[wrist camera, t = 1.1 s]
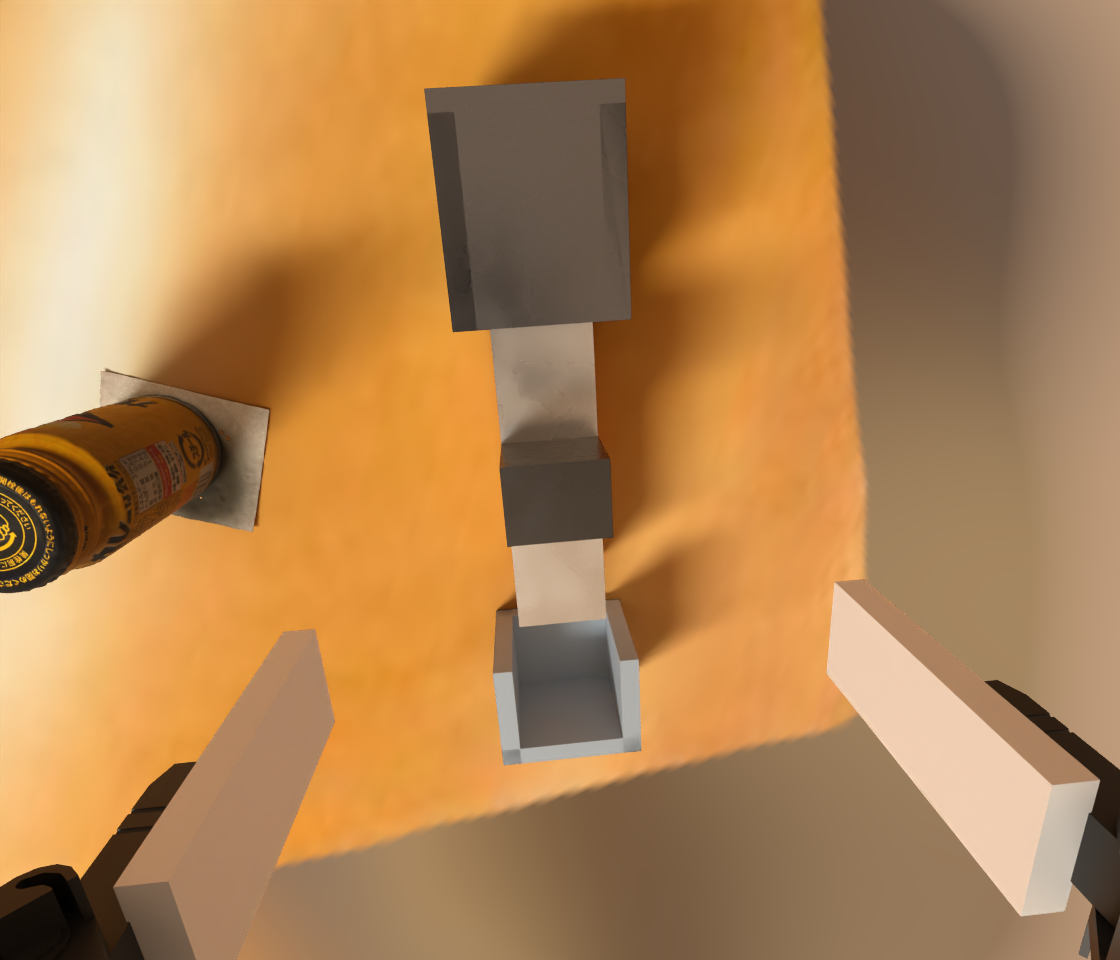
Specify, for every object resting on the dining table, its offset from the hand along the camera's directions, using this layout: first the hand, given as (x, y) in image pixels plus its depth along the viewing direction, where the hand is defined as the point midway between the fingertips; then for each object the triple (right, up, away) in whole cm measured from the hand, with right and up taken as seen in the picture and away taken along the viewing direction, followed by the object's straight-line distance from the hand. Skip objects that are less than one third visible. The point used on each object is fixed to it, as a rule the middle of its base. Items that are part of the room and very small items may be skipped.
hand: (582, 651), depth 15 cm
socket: (0, -6, +23) cm, 24 cm away
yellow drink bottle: (-21, +6, +18) cm, 29 cm away
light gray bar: (-1, +9, +17) cm, 19 cm away
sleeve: (-2, +17, +16) cm, 23 cm away
